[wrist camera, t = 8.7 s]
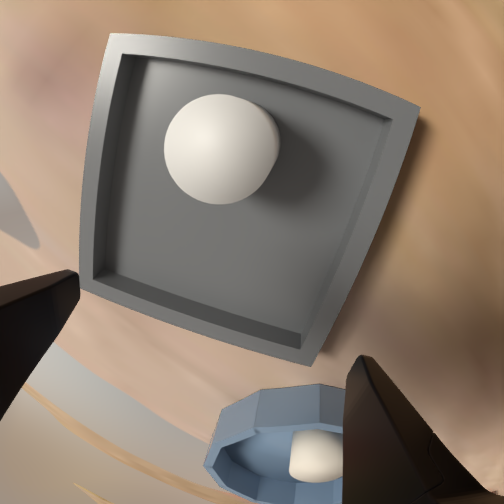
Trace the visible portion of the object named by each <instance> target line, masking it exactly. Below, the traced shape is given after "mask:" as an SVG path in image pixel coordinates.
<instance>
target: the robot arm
mask: <svg viewBox="0 0 504 504" xmlns="http://www.w3.org/2000/svg"><path fill="white" fill-rule="evenodd" d="M79 299H80V280H79V275H78V273H77V272H74V271H71V270H68V269H67V270H63V271H59V272H55V273H51V274H47V275H43V276H39V277H35V278H31V279H27V280H23V281H19V282H15V283H12V284H8V285H4V286H0V421H1V419H2V417H3V416H4V414H5V413H6V411H7V409H8V408H9V406H10V405H11V403H12V401H13V400H14V398H15V397H16V395H17V394H18V392H19V390H20V389H21V388H22V386H23V385H24V383H25V382H26V380H27V379H28V377H29V376H30V374H31V373H32V371H33V370H34V368H35V367H36V365H37V364H38V362H39V361H40V360H41V358H42V357H43V355H44V354H45V353H46V351H47V350H48V348H49V347H50V346H51V344H52V343H53V342H54V340H55V339H56V337H57V336H58V334H59V333H60V331H61V330H62V328H63V326H64V325H65V323H66V321H67V320H68V318H69V316H70V315H71V313H72V311H73V310H74V308H75V306H76V305H77V303H78V301H79ZM342 504H504V496H500V495H496V494H493V493H491V492H489V491H488V490H486V489H485V488H484V487H483V486H482V485H481V484H480V483H479V482H478V481H477V480H476V479H475V478H474V477H473V476H472V475H471V474H470V473H469V472H468V471H467V470H466V468H465V467H464V466H463V465H462V464H461V463H460V462H459V461H458V460H457V459H456V458H455V457H454V456H453V455H452V453H451V452H450V451H449V450H448V449H447V448H446V446H445V445H444V444H443V443H442V442H441V440H440V439H439V438H438V437H437V435H436V434H435V433H433V431H432V429H431V428H430V427H429V426H428V424H427V423H426V422H425V421H424V419H423V418H422V417H421V416H420V414H419V413H418V412H417V411H416V410H415V408H414V407H413V406H412V405H411V403H410V402H409V401H408V400H407V398H406V397H405V396H404V395H403V394H402V392H401V391H400V390H399V389H398V388H397V386H396V385H395V384H394V383H393V381H392V380H391V379H390V378H389V377H388V375H387V374H386V373H385V372H384V371H383V369H382V368H381V367H380V366H379V365H378V363H377V362H376V361H375V360H374V359H373V358H372V357H369V356H364V355H360V356H358V358H357V359H356V361H355V363H354V364H353V366H352V368H351V370H350V371H349V373H348V376H347V379H346V390H345V402H344V412H343V477H342Z"/></svg>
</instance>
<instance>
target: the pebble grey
mask: <svg viewBox="0 0 504 504" xmlns="http://www.w3.org/2000/svg"><path fill="white" fill-rule="evenodd" d="M280 145H281V139H280V132H279V129H278V126H277V124H276V122H275V120H274V119H273V117H272V116H271V115H270V113H269V112H268V111H267V110H265V109H264V108H263V107H261V106H260V105H258V104H256V103H254V102H251V101H248V100H245V99H241V98H238V97H234V96H231V95H225V94H213V95H207V96H203V97H200V98H197V99H195V100H193V101H191V102H190V103H188V104H187V105H185V106H184V107H183V108H182V109H181V110H180V111H179V112H178V113H177V114H176V115H175V117H174V118H173V120H172V121H171V123H170V125H169V127H168V130H167V133H166V136H165V142H164V156H165V161H166V165H167V168H168V171H169V173H170V175H171V177H172V178H173V180H174V181H175V183H176V184H177V185H178V186H179V187H180V188H181V189H182V190H183V191H184V192H185V193H187V194H188V195H190V196H191V197H193V198H195V199H197V200H199V201H202V202H205V203H209V204H230V203H234V202H237V201H240V200H242V199H244V198H246V197H248V196H249V195H251V194H252V193H254V192H255V191H256V190H257V189H258V188H259V187H260V186H261V185H262V183H263V182H264V181H265V179H266V178H267V176H268V174H269V172H270V171H271V169H272V167H273V166H274V164H275V162H276V160H277V158H278V155H279V151H280Z"/></svg>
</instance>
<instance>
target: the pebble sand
mask: <svg viewBox="0 0 504 504" xmlns="http://www.w3.org/2000/svg"><path fill="white" fill-rule="evenodd" d="M289 473H290V475H291V476H292V477H293V478H295V479H297V480H300V481H304V482H311V483H321V482H328V481H332V480H335V479H338V478H340V477H341V476H343V433H337V432H331V431H325V430H320V429H314V430H303V431H293V436H292V446H291V456H290V466H289Z"/></svg>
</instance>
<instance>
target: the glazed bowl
mask: <svg viewBox="0 0 504 504" xmlns="http://www.w3.org/2000/svg"><path fill="white" fill-rule="evenodd" d="M344 402H345V389H340V388H335V387H331V386H327V385H322V384H314V385H306V386H297V387H287V388H277V389H265V390H259V391H257V392H256V393H254V394H252V395H250V396H248V397H246V398H244V399H242V400H240V401H238V402H236V403H234V404H232V405H230V406H228V407H226V408H224V409H222V411H221V414H220V416H219V419H218V422H217V424H216V427H215V430H214V433H213V435H212V438H211V441H210V445H209V448H208V452H207V455H206V459H205V462H204V465H203V466H204V467H205V469H206V470H207V471H208V472H209V474H210V475H211V476H212V478H214V480H215V481H216V483H217V484H218V485H219V486H220V487H221V488H223V489H225V490H227V491H230V492H232V493H234V494H236V495H238V496H240V497H242V498H245V499H247V500H249V501H251V502H255V503H260V504H342V477H343V476H341V477H340V478H338V479H335V480H332V481H328V482H321V483H311V482H304V481H300V480H297V479H295V478H293V477H292V476H291V475H290V473H289V466H290V456H291V446H292V436H293V431H303V430H314V429H320V430H325V431H331V432H337V433H343V412H344Z"/></svg>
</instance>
